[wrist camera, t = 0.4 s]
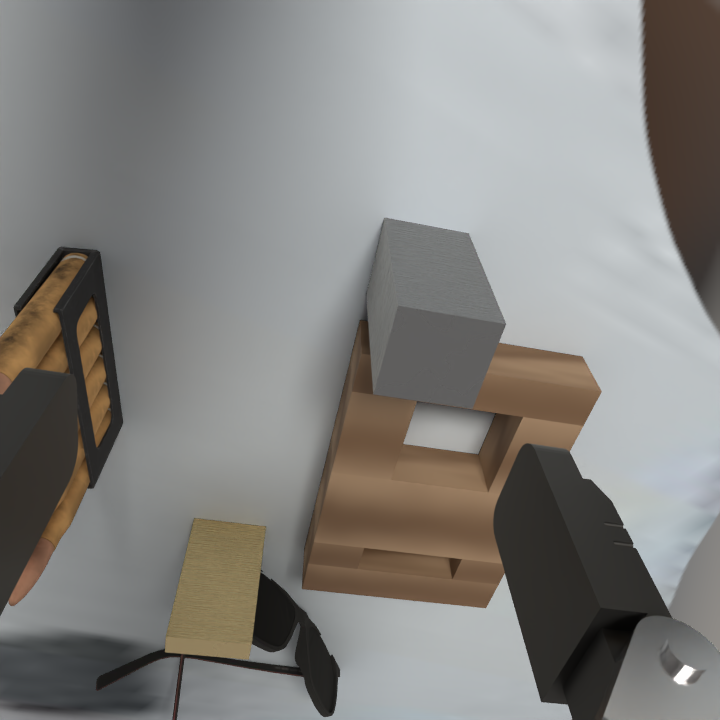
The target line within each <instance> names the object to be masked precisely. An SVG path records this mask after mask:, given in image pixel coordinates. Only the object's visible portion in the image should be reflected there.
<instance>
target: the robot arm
mask: <svg viewBox="0 0 720 720" xmlns="http://www.w3.org/2000/svg"><path fill="white" fill-rule="evenodd" d="M77 453H78V414H77V383H76V378H75V376H74V375H73V374H68V373H61V372H55V371H48V370H41V369H34V368H27V367H26V368H24V369H23V370H22V371H21V372H20V373H19V374H18V375H17V377H16V378H15V379H14V381H13V382H12V383H11V384H10V386H9V387H8V388H7V390H6V391H5V392H4V393H3V395H2V394H0V615H1V614H2V612H3V610H4V608H5V606H6V604H7V602H8V600H9V598H10V596H11V594H12V592H13V590H14V588H15V586H16V584H17V582H18V580H19V579H20V577H21V575H22V573H23V571H24V569H25V567H26V565H27V563H28V561H29V559H30V557H31V555H32V553H33V551H34V549H35V547H36V545H37V544H38V542H39V540H40V538H41V536H42V534H43V532H44V530H45V528H46V526H47V524H48V522H49V520H50V518H51V516H52V514H53V512H54V510H55V509H56V507H57V505H58V503H59V501H60V499H61V497H62V495H63V493H64V491H65V489H66V487H67V485H68V483H69V481H70V479H71V477H72V474H73V471H74V468H75V464H76V459H77ZM493 529H494V535H495V539H496V543H497V546H498V550H499V554H500V557H501V561H502V564H503V568H504V571H505V575H506V578H507V582H508V586H509V589H510V593H511V596H512V600H513V603H514V607H515V610H516V614H517V617H518V621H519V625H520V628H521V632H522V635H523V639H524V642H525V646H526V649H527V653H528V656H529V660H530V664H531V667H532V671H533V674H534V678H535V681H536V685H537V688H538V692H539V695H540V699H541V702H547V703H558V704H568V706H569V709H570V713H571V716H572V720H720V652H719V650H718V649H717V648H716V647H715V646H714V645H713V644H712V643H711V642H710V641H709V640H708V639H707V638H706V637H705V636H703V635H702V634H701V633H700V632H698V631H697V630H695V629H694V628H692V627H691V626H689V625H687V624H685V623H683V622H681V621H679V620H676V619H673V618H672V617H671V615H670V613H669V611H668V609H667V607H666V605H665V603H664V601H663V599H662V597H661V595H660V593H659V592H658V590H657V588H656V586H655V584H654V582H653V580H652V578H651V576H650V574H649V572H648V570H647V568H646V567H645V565H644V563H643V561H642V559H641V557H640V555H639V553H638V551H637V549H636V548H633V542H632V540H631V538H630V536H629V534H628V532H627V530H626V529H623V522H622V520H621V518H620V516H619V515H618V513H617V511H616V509H615V507H614V505H613V503H612V501H611V500H610V499H609V498H608V497H607V496H606V495H605V494H604V493H603V492H602V491H601V490H600V489H599V488H598V487H597V486H596V485H595V484H594V483H593V481H592V480H589V479H583V478H582V476H581V474H580V472H579V470H578V468H577V466H576V464H575V462H574V460H573V458H572V456H571V454H570V452H569V451H568V450H567V449H564V448H557V447H550V446H543V445H537V444H530V443H526V444H524V445H523V446H522V447H521V449H520V450H519V452H518V454H517V457H516V459H515V461H514V464H513V466H512V468H511V470H510V473H509V475H508V477H507V480H506V482H505V484H504V486H503V489H502V491H501V493H500V495H499V498H498V500H497V503H496V506H495V510H494V518H493Z"/></svg>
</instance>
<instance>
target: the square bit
mask: <svg viewBox="0 0 720 720" xmlns="http://www.w3.org/2000/svg"><path fill="white" fill-rule="evenodd" d="M366 299H367V313H368V327H369V341H370V355H371V369H372V382H373V394H374V395H381V396H388V397H394V398H401V399H408V400H414V401H421V402H428V403H435V404H441V405H448V406H455V407H462V408H468V409H473V406H474V404H475V401H476V399H477V396H478V394H479V391H480V389H481V386H482V383H483V381H484V378H485V376H486V373H487V371H488V368H489V366H490V363H491V361H492V358H493V356H494V353H495V351H496V348H497V345H498V343H499V340H500V338H501V335H502V333H503V330H504V328H505V325H506V323H505V320H504V318H503V316H502V313H501V311H500V308H499V306H498V303H497V301H496V299H495V296H494V294H493V291H492V289H491V286H490V284H489V282H488V279H487V277H486V274H485V272H484V269H483V267H482V265H481V262H480V260H479V257H478V255H477V252H476V250H475V248H474V245H473V243H472V240H471V238H470V236H469V233H463V232H458V231H453V230H448V229H442V228H437V227H432V226H426V225H421V224H416V223H410V222H405V221H400V220H394V219H389V218H384V222H383V226H382V230H381V234H380V238H379V243H378V247H377V251H376V255H375V259H374V263H373V267H372V272H371V276H370V280H369V284H368V288H367V292H366Z"/></svg>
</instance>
